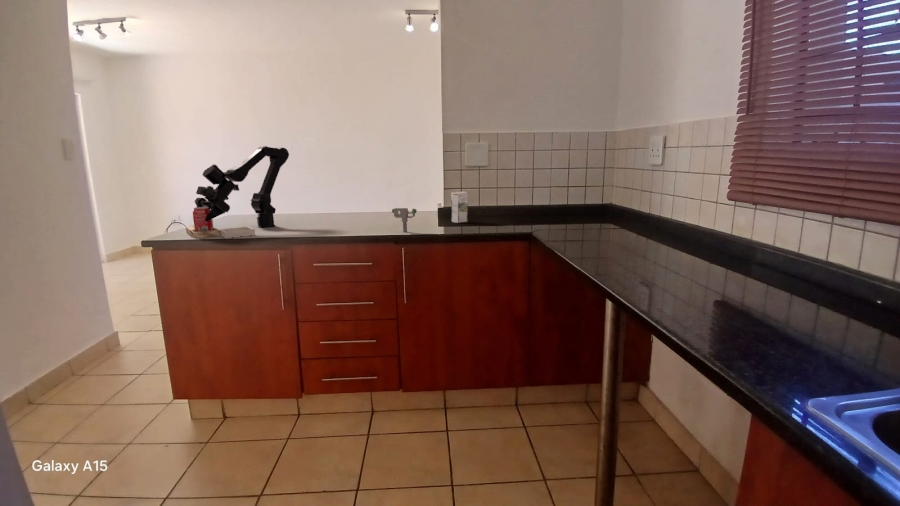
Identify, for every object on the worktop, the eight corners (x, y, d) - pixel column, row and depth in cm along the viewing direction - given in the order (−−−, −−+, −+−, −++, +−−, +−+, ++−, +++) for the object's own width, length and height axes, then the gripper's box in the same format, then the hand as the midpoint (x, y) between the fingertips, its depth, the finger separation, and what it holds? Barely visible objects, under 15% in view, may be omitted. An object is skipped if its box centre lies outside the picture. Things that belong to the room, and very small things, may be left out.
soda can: (208, 233, 203) (205, 206, 200) (217, 235, 199) (214, 207, 196) (192, 236, 197) (188, 208, 195) (201, 237, 193) (197, 208, 191)
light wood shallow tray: (210, 230, 212) (210, 224, 212) (219, 235, 197) (219, 229, 196) (186, 232, 207) (185, 227, 206) (194, 238, 191) (193, 232, 191)
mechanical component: (415, 232, 195) (414, 209, 193) (392, 232, 197) (391, 208, 195) (417, 231, 198) (416, 208, 196) (394, 231, 200) (393, 208, 198)
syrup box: (461, 220, 228) (460, 191, 225) (468, 222, 223) (467, 191, 220) (451, 222, 225) (450, 191, 222) (458, 223, 220) (457, 192, 217)
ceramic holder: (248, 231, 206) (247, 226, 205) (255, 235, 197) (254, 229, 196) (219, 234, 199) (218, 229, 199) (225, 238, 190) (224, 232, 190)
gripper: (196, 178, 202) (173, 206, 195) (219, 179, 191) (195, 209, 184) (216, 195, 209) (194, 223, 203) (239, 197, 199) (217, 226, 192)
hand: (199, 220), depth 195 cm, fingers open, 9 cm apart
